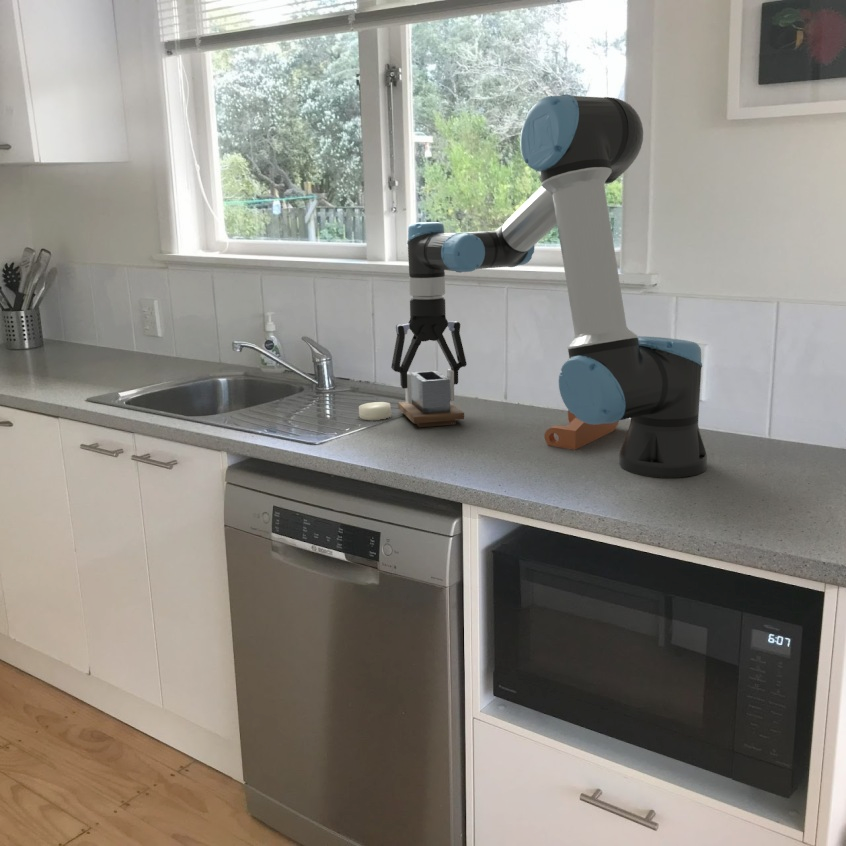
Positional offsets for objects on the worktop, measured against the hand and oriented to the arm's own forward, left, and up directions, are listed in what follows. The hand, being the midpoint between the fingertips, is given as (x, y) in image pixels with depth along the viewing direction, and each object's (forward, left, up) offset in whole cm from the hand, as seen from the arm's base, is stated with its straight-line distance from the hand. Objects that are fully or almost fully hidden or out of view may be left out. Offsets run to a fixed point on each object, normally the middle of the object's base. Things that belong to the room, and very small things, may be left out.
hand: (429, 400), depth 200 cm
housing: (0, 0, -1) cm, 1 cm away
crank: (-22, -25, -5) cm, 34 cm away
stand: (0, 0, -4) cm, 4 cm away
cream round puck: (+6, +11, -4) cm, 13 cm away
